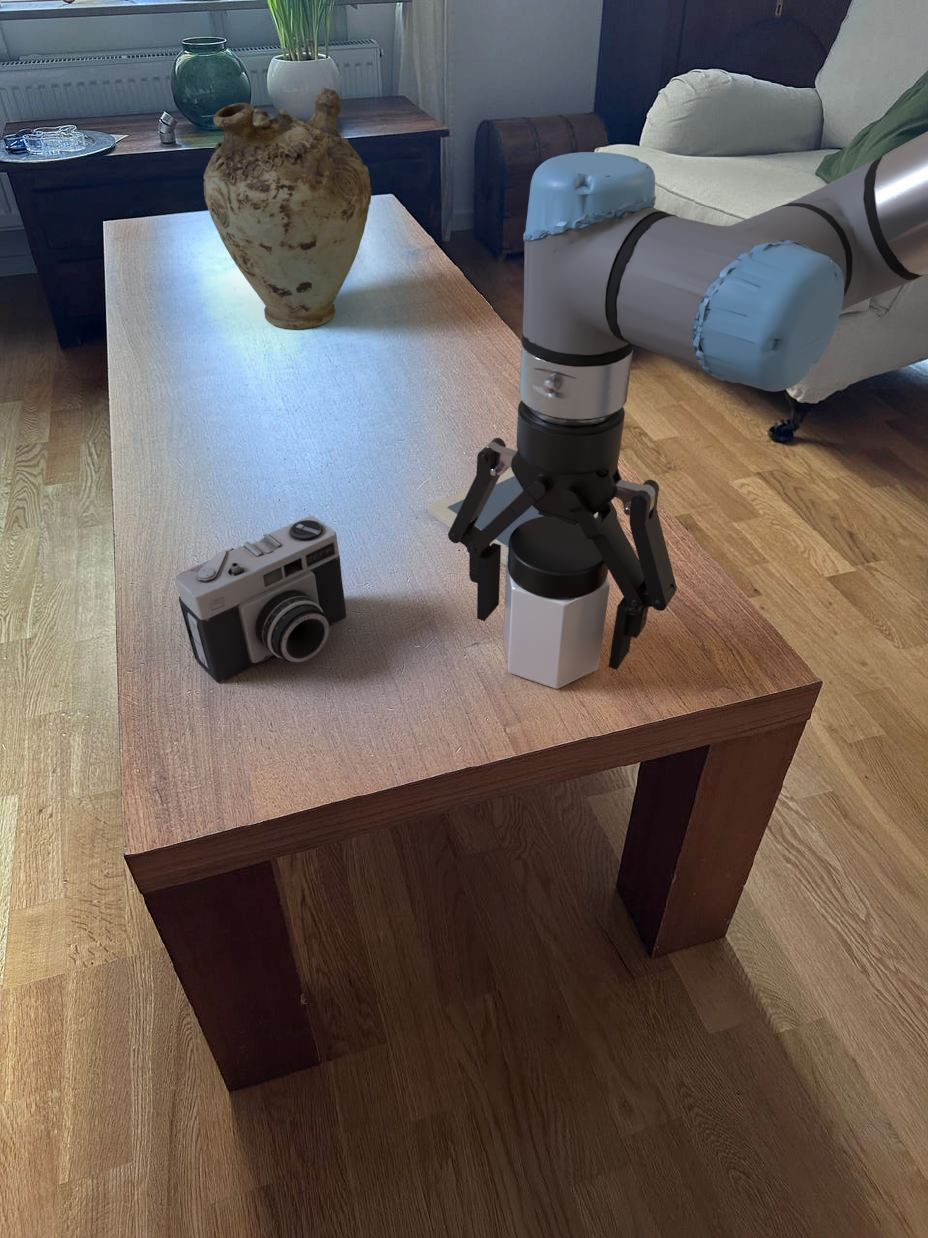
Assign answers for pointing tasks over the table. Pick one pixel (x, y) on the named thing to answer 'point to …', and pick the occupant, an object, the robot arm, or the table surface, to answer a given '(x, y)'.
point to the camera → (264, 599)
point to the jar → (553, 602)
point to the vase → (289, 206)
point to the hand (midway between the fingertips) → (551, 634)
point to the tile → (488, 509)
